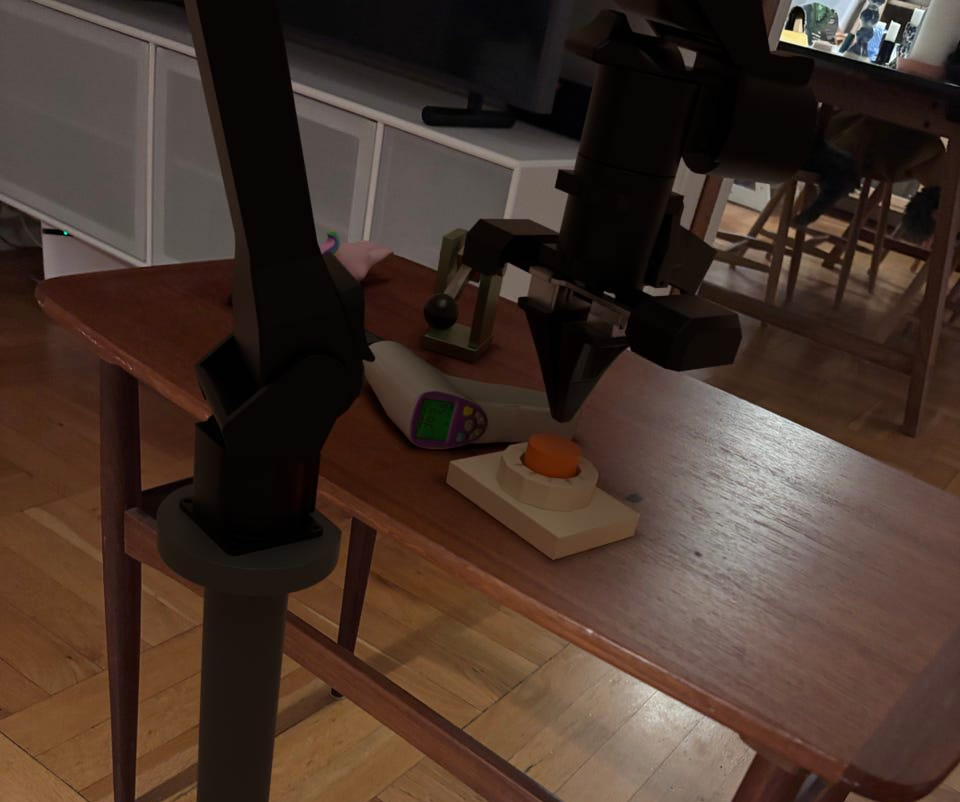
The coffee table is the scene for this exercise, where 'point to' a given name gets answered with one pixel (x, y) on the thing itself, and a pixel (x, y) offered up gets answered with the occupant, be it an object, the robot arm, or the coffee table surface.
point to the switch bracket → (478, 337)
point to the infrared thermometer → (455, 403)
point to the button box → (543, 502)
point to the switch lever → (449, 297)
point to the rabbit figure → (355, 254)
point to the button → (552, 456)
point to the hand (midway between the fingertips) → (561, 420)
